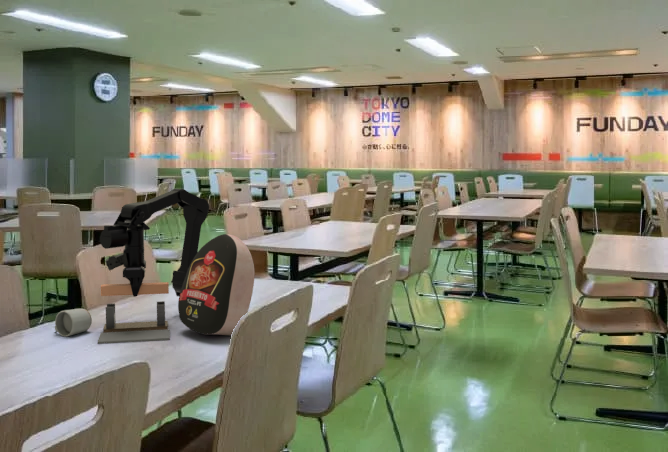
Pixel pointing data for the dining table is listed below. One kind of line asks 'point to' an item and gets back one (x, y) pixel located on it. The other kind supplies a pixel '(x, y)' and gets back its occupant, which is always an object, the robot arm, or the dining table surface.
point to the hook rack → (135, 326)
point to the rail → (126, 289)
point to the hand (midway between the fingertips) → (135, 295)
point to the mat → (134, 336)
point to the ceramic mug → (72, 322)
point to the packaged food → (217, 286)
